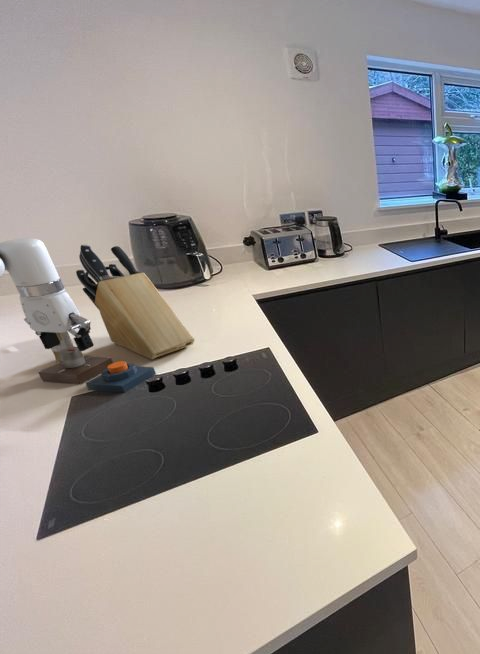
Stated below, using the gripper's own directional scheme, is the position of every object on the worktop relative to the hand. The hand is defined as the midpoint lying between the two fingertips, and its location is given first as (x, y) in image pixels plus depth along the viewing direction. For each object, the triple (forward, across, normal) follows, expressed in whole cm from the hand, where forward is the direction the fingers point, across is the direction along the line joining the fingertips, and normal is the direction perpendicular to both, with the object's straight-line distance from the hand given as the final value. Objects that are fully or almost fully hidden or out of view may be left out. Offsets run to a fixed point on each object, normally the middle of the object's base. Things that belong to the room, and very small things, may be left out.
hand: (70, 347), depth 107 cm
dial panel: (+8, 0, 0) cm, 8 cm away
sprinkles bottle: (+8, -12, +7) cm, 16 cm away
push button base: (+8, +15, -2) cm, 17 cm away
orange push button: (+5, +15, -2) cm, 16 cm away
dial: (+5, 0, 0) cm, 5 cm away
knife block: (+9, +1, +18) cm, 20 cm away
